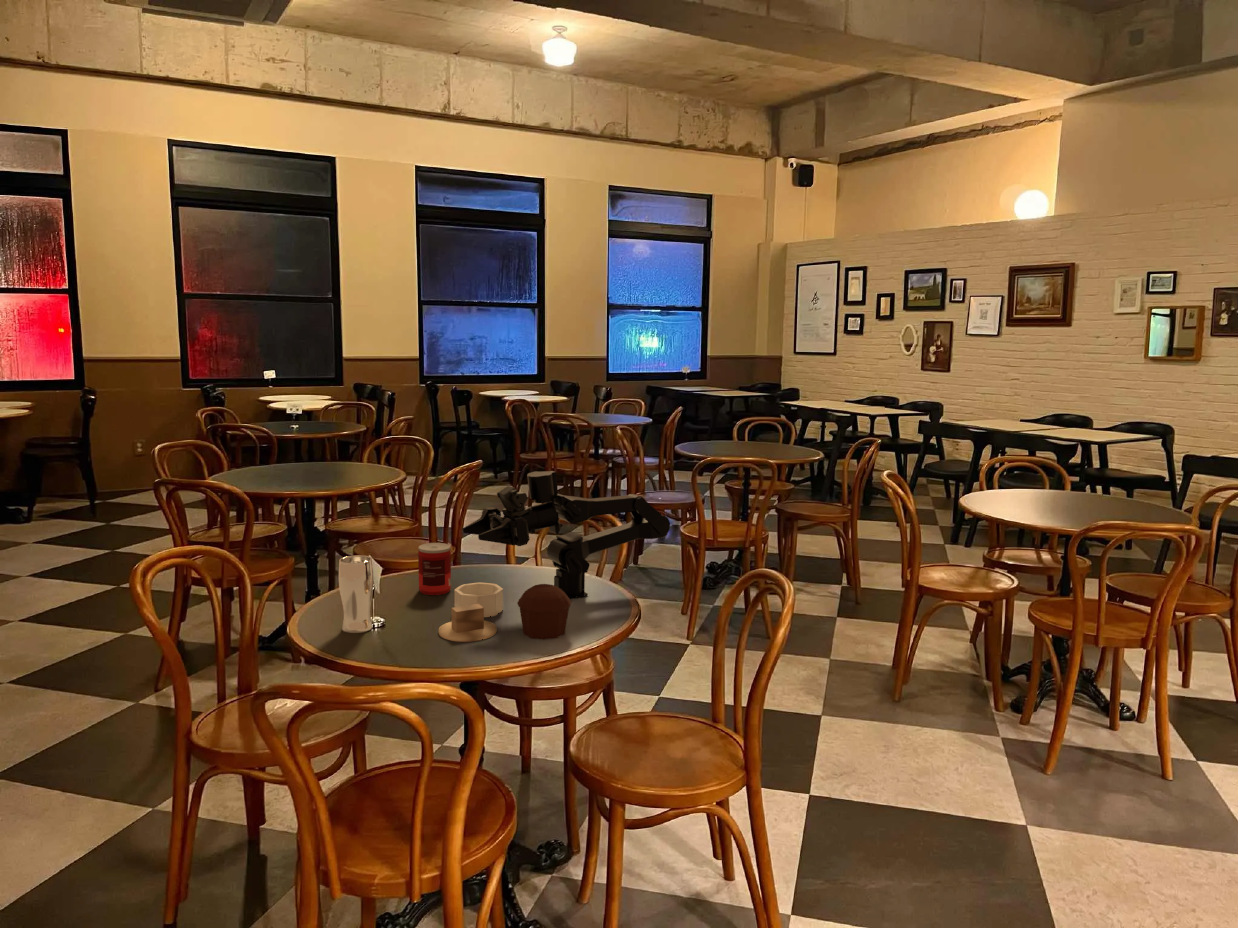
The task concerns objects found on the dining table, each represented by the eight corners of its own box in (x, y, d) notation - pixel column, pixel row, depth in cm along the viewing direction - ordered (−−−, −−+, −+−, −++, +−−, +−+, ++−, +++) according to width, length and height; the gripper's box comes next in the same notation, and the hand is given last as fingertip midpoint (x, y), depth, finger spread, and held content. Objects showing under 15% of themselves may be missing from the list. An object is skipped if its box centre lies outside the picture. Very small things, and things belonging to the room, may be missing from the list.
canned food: (440, 584, 218) (439, 540, 216) (457, 591, 212) (457, 547, 210) (412, 589, 213) (411, 545, 211) (429, 597, 207) (429, 552, 205)
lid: (484, 620, 193) (484, 596, 192) (505, 637, 182) (505, 611, 181) (431, 628, 187) (430, 603, 186) (449, 646, 176) (449, 620, 176)
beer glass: (381, 625, 187) (379, 556, 185) (361, 635, 180) (359, 565, 178) (353, 621, 189) (351, 553, 187) (333, 631, 183) (331, 561, 180)
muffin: (511, 626, 188) (511, 581, 187) (560, 620, 192) (561, 576, 191) (526, 644, 177) (526, 596, 176) (578, 638, 182) (579, 591, 180)
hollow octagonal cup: (491, 601, 205) (491, 580, 204) (508, 613, 196) (508, 592, 196) (450, 607, 200) (449, 586, 199) (465, 620, 191) (465, 598, 191)
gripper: (511, 480, 210) (450, 493, 202) (547, 489, 194) (481, 504, 186) (517, 525, 212) (457, 540, 204) (553, 538, 196) (489, 554, 188)
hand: (470, 534), depth 196 cm, fingers open, 9 cm apart
